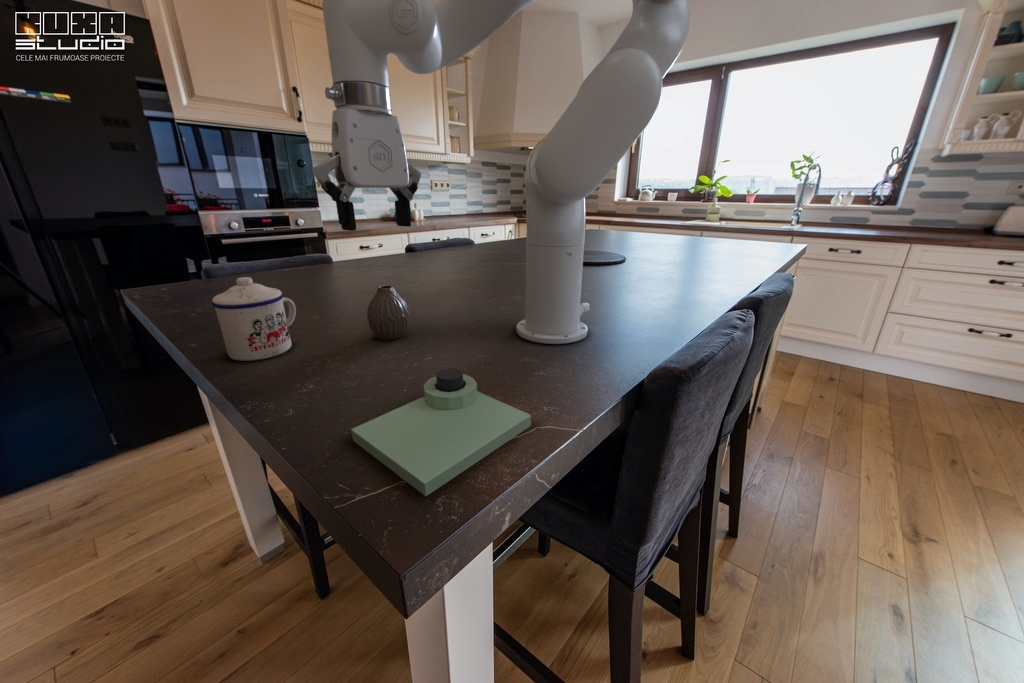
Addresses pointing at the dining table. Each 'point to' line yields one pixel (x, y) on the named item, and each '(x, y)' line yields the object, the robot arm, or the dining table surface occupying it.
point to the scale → (440, 434)
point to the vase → (388, 314)
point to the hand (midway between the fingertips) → (378, 227)
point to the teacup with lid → (254, 320)
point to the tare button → (449, 380)
